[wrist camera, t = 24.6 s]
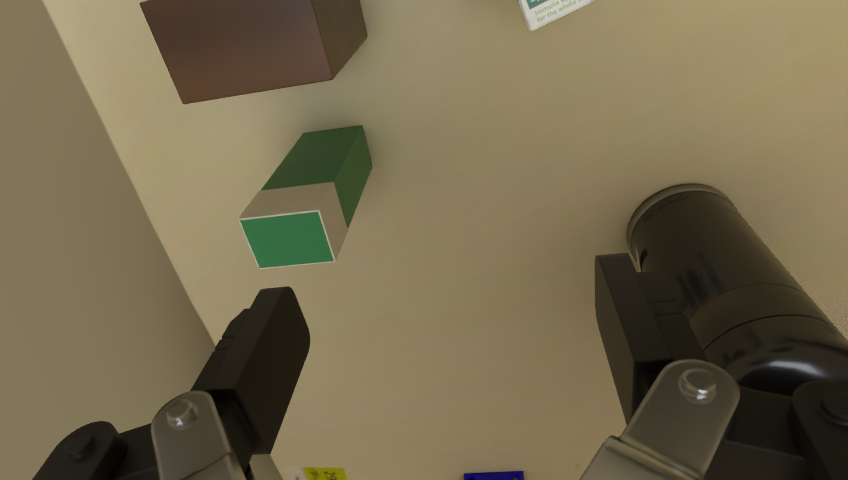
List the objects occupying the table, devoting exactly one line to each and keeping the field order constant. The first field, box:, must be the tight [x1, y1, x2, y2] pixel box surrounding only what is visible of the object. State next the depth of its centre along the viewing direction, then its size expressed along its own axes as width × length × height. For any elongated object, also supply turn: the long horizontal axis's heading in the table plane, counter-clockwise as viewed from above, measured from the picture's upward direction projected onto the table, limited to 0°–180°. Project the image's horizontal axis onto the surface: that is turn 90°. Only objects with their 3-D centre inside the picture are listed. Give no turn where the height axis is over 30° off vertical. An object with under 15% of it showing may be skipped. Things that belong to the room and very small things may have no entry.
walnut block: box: [140, 0, 367, 104], centre depth 35 cm, size 6×10×12 cm, turn 100°
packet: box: [238, 126, 372, 269], centre depth 40 cm, size 13×6×13 cm
